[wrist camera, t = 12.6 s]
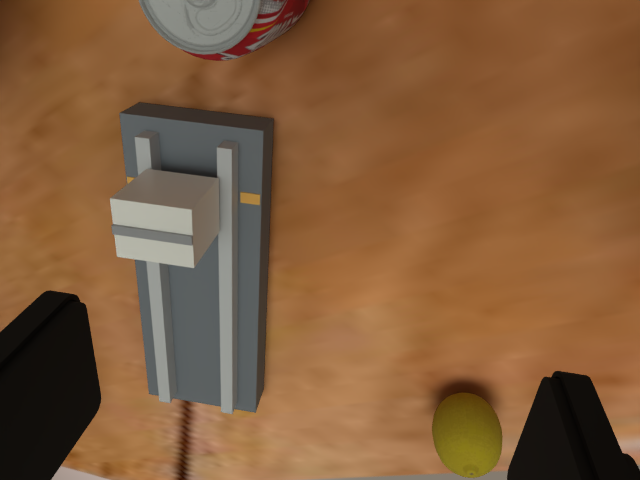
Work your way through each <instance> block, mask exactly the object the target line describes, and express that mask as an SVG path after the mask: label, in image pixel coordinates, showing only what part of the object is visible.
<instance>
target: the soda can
mask: <svg viewBox="0 0 640 480" xmlns="http://www.w3.org/2000/svg"><path fill="white" fill-rule="evenodd" d="M139 2H140V5H141V8H142V10H143V12H144V14H145V16H146V17H147V19H148V20H149V22H150V23H151V25H152V26H153V27H154V29H155V30H156V31H157V32H158V33H159V34H160V35H161V36H162V37H163V38H164V39H166V40H167V41H168V42H170V43H171V44H173V45H174V46H176V47H178V48H180V49H182V50H183V51H185V52H187V53H189V54H191V55H193V56H196V57H199V58H203V59H208V60H216V61H220V60H231V59H235V58H239V57H241V56H244V55H246V54H249V53H251V52H253V51H256V50H257V49H259V48H261V47H263V46H264V45H266V44H268V43H269V42H271V41H273V40H274V39H276V38H277V37H279V36H280V35H282V34H284V33H285V32H286V31H288V30H289V29H290V28H291V27H292V26H293V25H295V24H296V22H297V21H298V20H299V18H300V17H301V16H302V14H303V12H304V11H305V9H306V7H307V5H308V3H309V0H139Z"/></svg>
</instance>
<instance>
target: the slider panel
mask: <svg viewBox="0 0 640 480" xmlns="http://www.w3.org/2000/svg"><path fill="white" fill-rule="evenodd" d="M273 120H274V119H272V118H264V117H256V116H247V115H239V114H231V113H222V112H214V111H206V110H198V109H189V108H181V107H173V106H165V105H156V104H148V103H140V102H139V103H137V104H135V105H134V106H132V107H130V108H128V109H126V110H124V111H122V112H121V113H120V123H121V132H122V142H123V151H124V161H125V170H126V180H127V184H128V183H130V182H131V181H132V180H133V179H135V178H136V177H137V176H138V175H140V174H141V173H142V172H143V171H144V170H146V169H153V170H160V171H168V172H175V173H183V174H190V175H198V176H206V177H213V178H219V227H220V232H219V233H218V234H217V236H216V237H215V239H214V240H213V242H212V243H211V245H210V246H209V247H208V249H207V250H206V252H205V253H204V255H203V256H202V258H201V259H200V260H199V262H198V263H197V265H196V266H195V268H190V267H183V266H176V265H170V264H163V263H156V262H150V261H143V260H136V259H135V265H136V274H137V284H138V293H139V303H140V312H141V322H142V331H143V341H144V350H145V360H146V369H147V379H148V388H149V394H152V395H158V396H159V401H161V402H167V403H171V401H172V399H173V398H175V399H181V400H186V401H192V402H198V403H204V404H209V405H215V406H221V412H224V413H229V414H233V411H234V409H238V410H244V411H249V412H255V413H256V410H257V407H258V404H259V401H260V398H261V395H262V392H263V389H264V368H265V340H266V313H267V285H268V258H269V230H270V203H271V175H272V148H273Z"/></svg>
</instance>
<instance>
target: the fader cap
mask: <svg viewBox="0 0 640 480" xmlns="http://www.w3.org/2000/svg"><path fill="white" fill-rule="evenodd" d="M110 203H111V211H112V219H113V225H111V226H112V234H114V235H115V243H116V251H117V257H123V258H130V259H136V260H143V261H150V262H156V263H163V264H170V265H176V266H183V267H190V268H195V266H196V265H197V263H198V262H199V260H200V259H201V258H202V256H203V255H204V253H205V252H206V250H207V249H208V247H209V246H210V245H211V243H212V242H213V240H214V239H215V237H216V236H217V234H218V233H219V232H220V227H219V178H213V177H206V176H198V175H190V174H183V173H175V172H168V171H160V170H153V169H146V170H144V171H143V172H142V173H141V174H140V175H138V176H137V177H136V178H135V179H133V180H132V181H131V182H130V183H128V184H127V185H126V186H125V187H123V188H122V189H121V190H120V191H118V192H117V193H116V194H115V195H114V196H112V197H111V198H110Z"/></svg>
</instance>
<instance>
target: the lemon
mask: <svg viewBox="0 0 640 480" xmlns="http://www.w3.org/2000/svg"><path fill="white" fill-rule="evenodd" d="M432 434H433V440H434V445H435V448H436V451H437V453H438V455H439V457H440V459H441V461H442V462H443V464H444V465H445V466H446V467H447V468H448V469H449V470H451V471H452V472H454V473H456V474H458V475H460V476H463V477H468V478H474V477H480V476H482V475H485V474H487V473H488V472H490V471H491V470H492V469H493V468H494V467H495V466H496V464H497V462H498V460H499V458H500V455H501V450H502V430H501V426H500V422H499V419H498V417H497V414H496V413H495V411H494V410H493V408H492V407H491V406H490V404H489V403H487V402H486V401H485V400H484V399H483V398H481V397H479V396H477V395H475V394H471V393H456V394H453V395H450V396H449V397H447V398H445V399H444V400H443V401H442V402H441V403H440V404H439V406H438V408H437V409H436V411H435V414H434V418H433V424H432Z"/></svg>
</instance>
